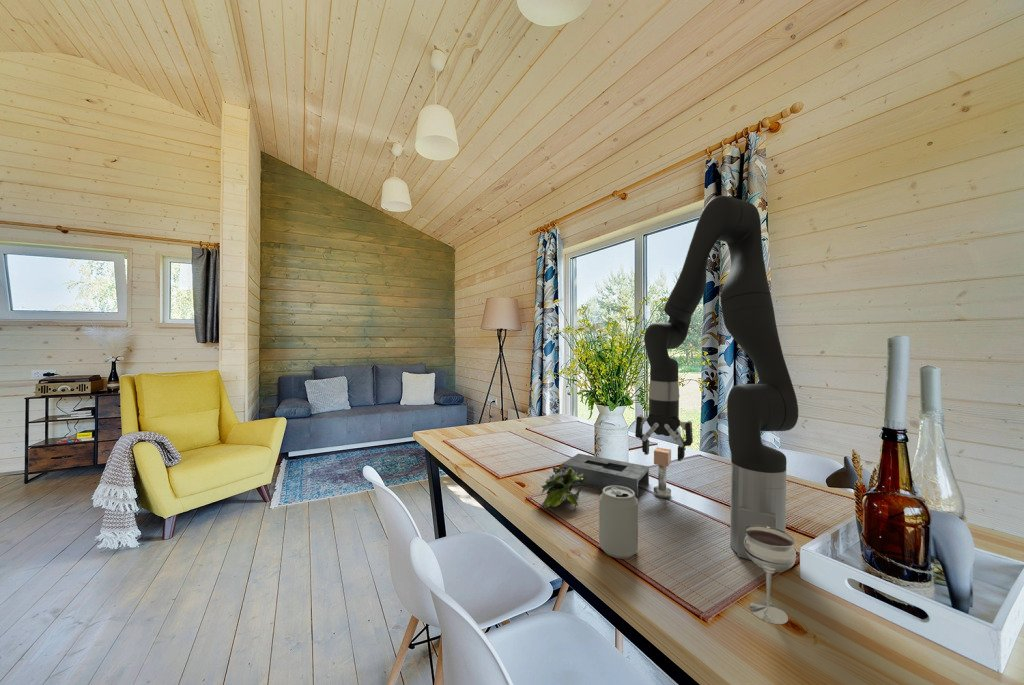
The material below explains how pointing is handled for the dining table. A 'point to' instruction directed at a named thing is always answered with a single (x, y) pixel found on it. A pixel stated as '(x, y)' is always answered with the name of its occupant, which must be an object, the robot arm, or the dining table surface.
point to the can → (618, 522)
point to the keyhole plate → (608, 472)
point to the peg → (662, 471)
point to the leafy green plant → (562, 486)
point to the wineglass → (769, 564)
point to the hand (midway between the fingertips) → (662, 457)
